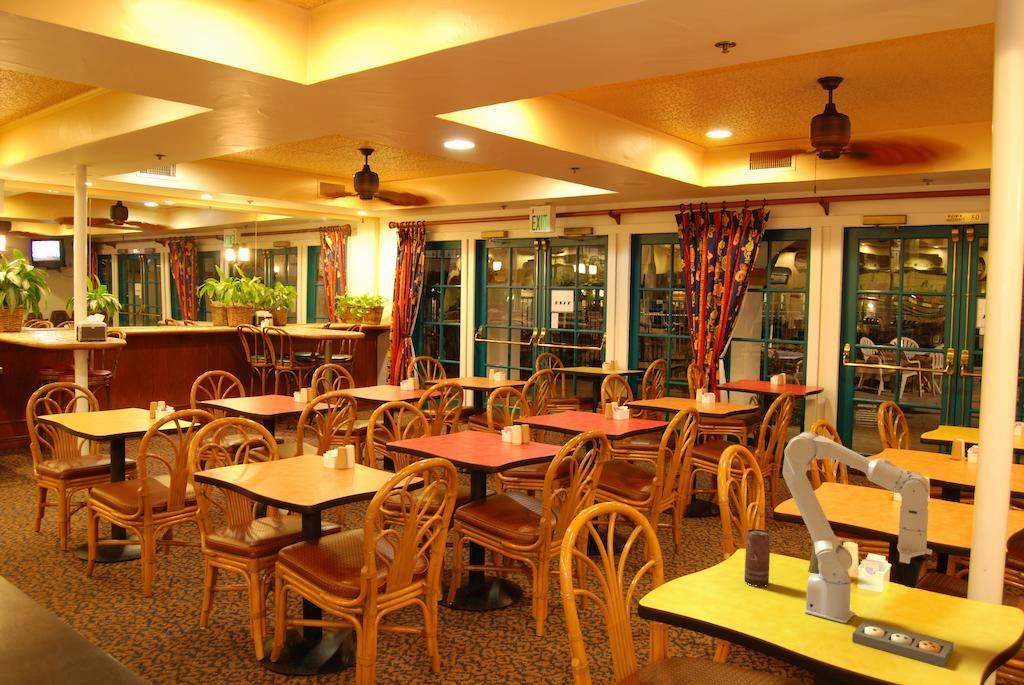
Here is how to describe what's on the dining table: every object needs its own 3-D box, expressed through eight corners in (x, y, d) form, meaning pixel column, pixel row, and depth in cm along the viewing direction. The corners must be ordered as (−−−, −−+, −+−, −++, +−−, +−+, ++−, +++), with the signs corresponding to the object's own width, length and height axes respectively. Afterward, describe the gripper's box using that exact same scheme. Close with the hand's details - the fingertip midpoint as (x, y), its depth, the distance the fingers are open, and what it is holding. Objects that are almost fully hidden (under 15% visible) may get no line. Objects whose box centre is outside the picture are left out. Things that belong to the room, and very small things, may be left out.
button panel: (852, 641, 172) (852, 633, 171) (864, 627, 179) (865, 619, 179) (943, 667, 160) (944, 657, 160) (953, 651, 168) (953, 642, 168)
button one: (862, 639, 172) (862, 629, 172) (867, 634, 175) (867, 624, 175) (881, 645, 170) (881, 634, 169) (886, 639, 173) (886, 629, 173)
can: (766, 589, 202) (768, 536, 202) (741, 584, 206) (743, 532, 205) (771, 582, 208) (774, 531, 207) (748, 577, 211) (750, 527, 210)
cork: (833, 578, 212) (835, 538, 212) (810, 576, 214) (811, 536, 213) (829, 571, 218) (830, 532, 218) (806, 569, 219) (808, 530, 219)
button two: (888, 647, 169) (889, 636, 169) (893, 641, 172) (893, 631, 172) (908, 652, 166) (909, 642, 166) (913, 646, 169) (913, 636, 169)
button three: (916, 654, 165) (917, 644, 165) (920, 648, 168) (921, 638, 168) (937, 660, 163) (938, 649, 163) (941, 654, 166) (942, 643, 166)
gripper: (925, 538, 169) (922, 599, 169) (939, 524, 180) (936, 582, 181) (890, 531, 173) (887, 591, 174) (906, 519, 184) (903, 575, 185)
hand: (910, 586), depth 178 cm, fingers closed
